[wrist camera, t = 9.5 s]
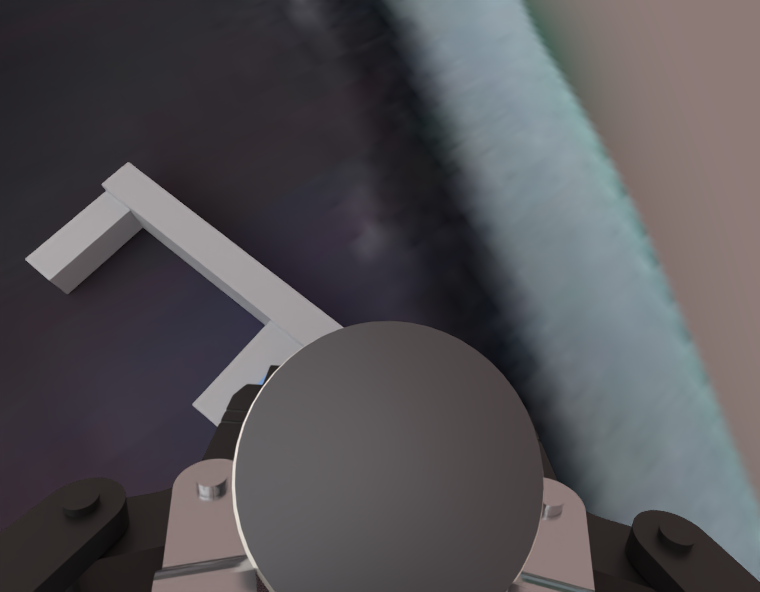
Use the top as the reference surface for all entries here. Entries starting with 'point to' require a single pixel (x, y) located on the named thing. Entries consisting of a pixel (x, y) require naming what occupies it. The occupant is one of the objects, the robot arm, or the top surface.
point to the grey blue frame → (205, 254)
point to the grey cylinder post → (387, 467)
